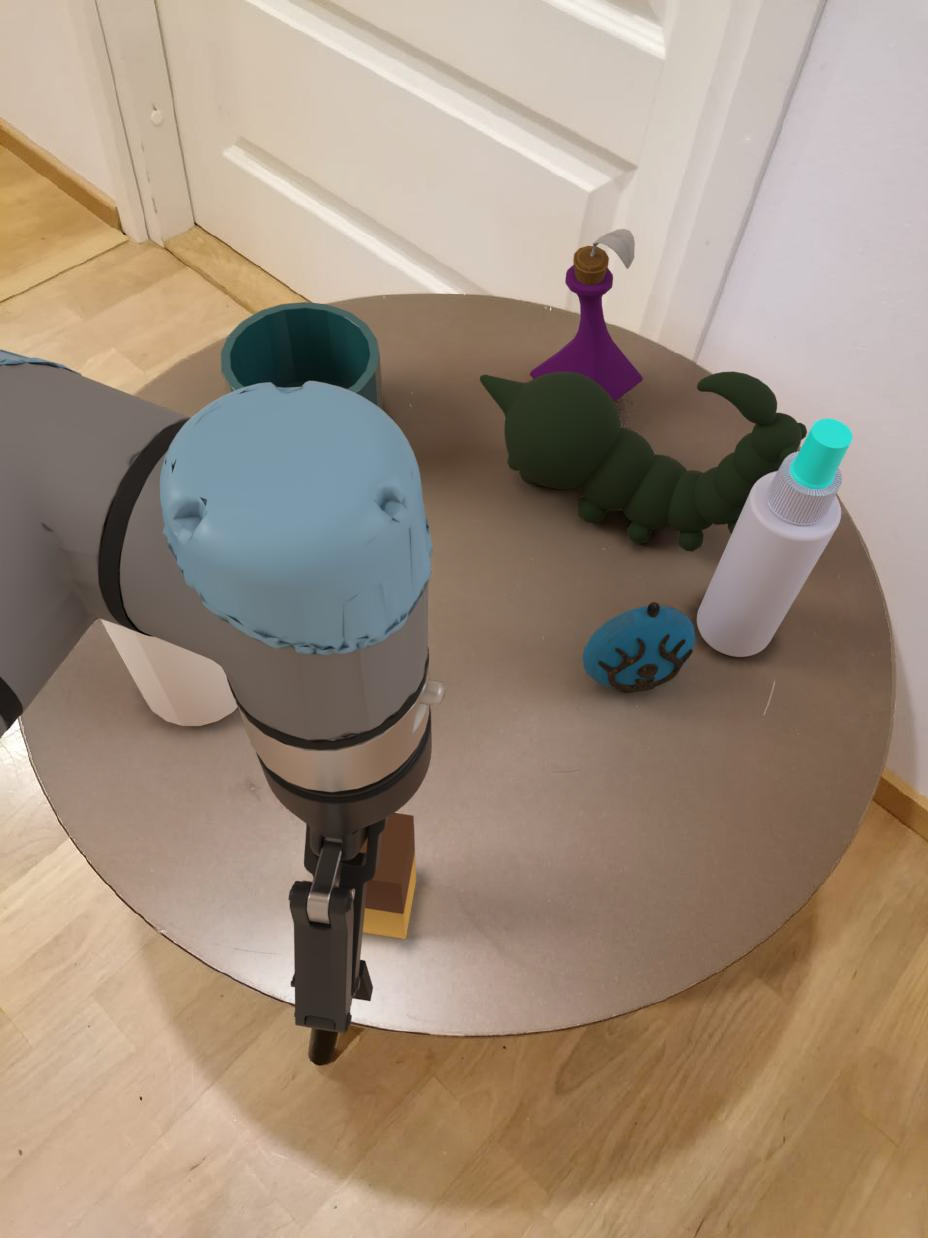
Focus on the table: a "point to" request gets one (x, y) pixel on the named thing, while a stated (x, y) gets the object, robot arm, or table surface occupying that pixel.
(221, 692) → the white plastic cylinder
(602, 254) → the perfume bottle
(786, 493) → the spray bottle
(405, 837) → the sponge
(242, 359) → the teal hollow cylinder
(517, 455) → the toy figurine
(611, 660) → the ornament
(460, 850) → the table surface
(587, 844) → the table surface
